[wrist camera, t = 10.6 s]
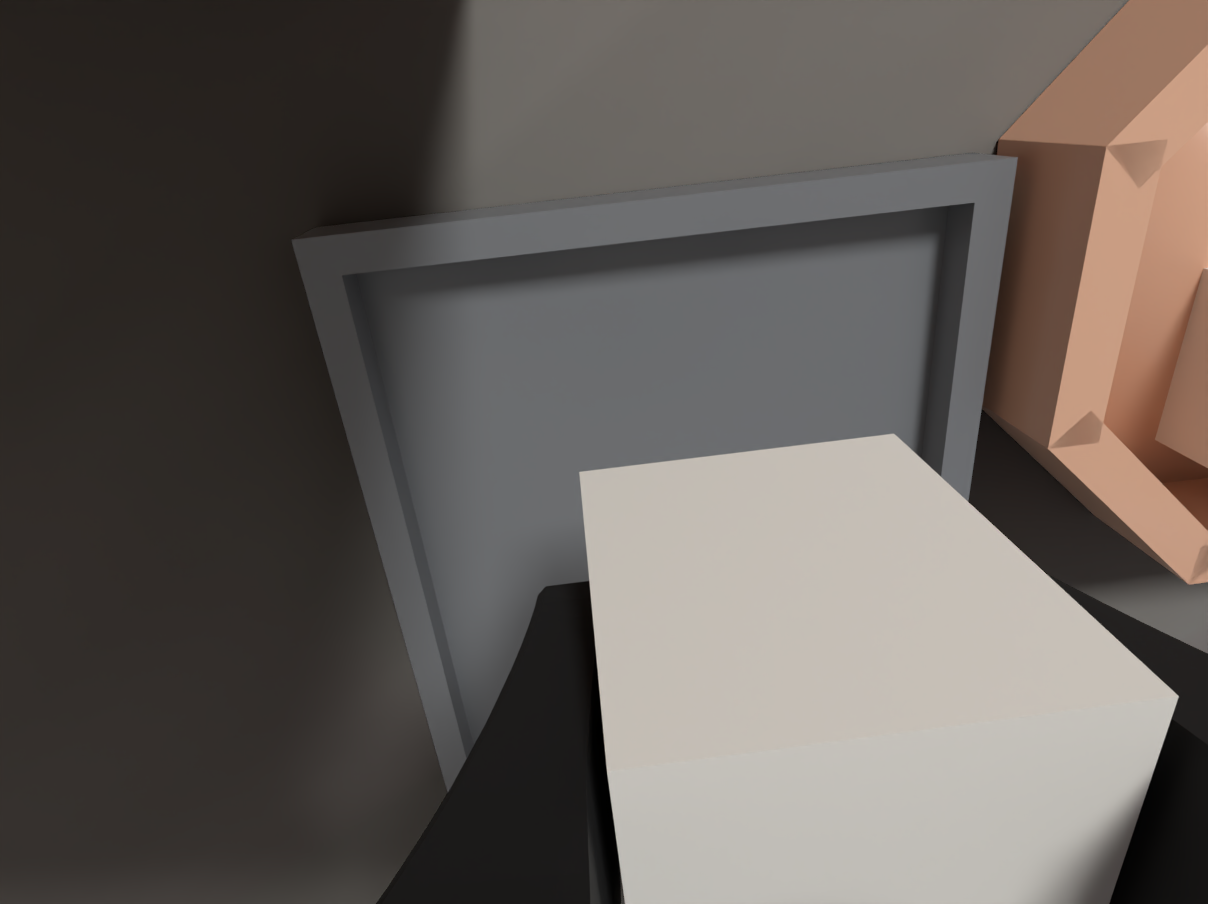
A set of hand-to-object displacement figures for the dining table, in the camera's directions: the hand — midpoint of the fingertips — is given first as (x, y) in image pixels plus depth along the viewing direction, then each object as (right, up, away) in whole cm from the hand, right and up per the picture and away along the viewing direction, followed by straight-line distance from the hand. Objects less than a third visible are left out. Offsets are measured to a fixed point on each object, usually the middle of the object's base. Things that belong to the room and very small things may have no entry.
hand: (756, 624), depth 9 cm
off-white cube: (0, 0, +1) cm, 1 cm away
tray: (0, 0, +8) cm, 8 cm away
